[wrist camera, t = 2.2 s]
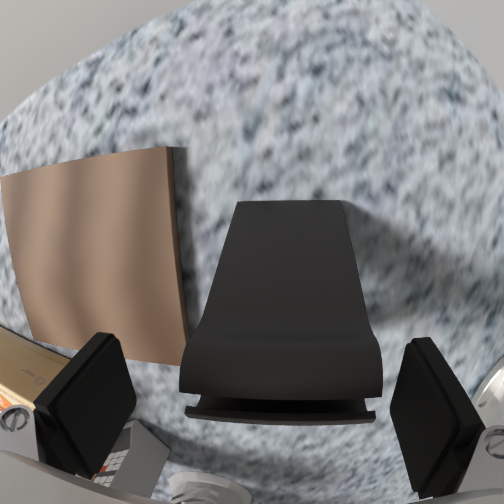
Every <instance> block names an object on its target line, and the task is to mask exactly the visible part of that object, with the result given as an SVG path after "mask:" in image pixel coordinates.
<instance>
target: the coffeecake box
mask: <svg viewBox="0 0 504 504" xmlns="http://www.w3.org/2000/svg"><path fill="white" fill-rule="evenodd" d="M69 361H70V359H68V358H65V357H63V356H61V355H58V354H56V353H54V352H51V351H49V350H47V349H45V348H43V347H40V346H38V345H36V344H34V343H32V342H30V341H27V340H25V339H23V338H21V337H19V336H17V335H16V334H14V333H12V332H10V331H8V330H6V329H4V328H2V327H0V413H1V412H2V411H3V410H4V409H6V408H8V407H10V406H13V405H19V404H21V405H26V406H28V407H30V408H31V410H32V411H33V410H34V409H35V406H34V404H33V401H34V400H35V399H36V398H37V397H38V396H39V394H40V393H41V392H42V391H43V390H44V389H45V388H46V387H47V386H48V384H49V383H50V382H51V381H52V380H53V379H54V378H55V377H56V376H57V374H58V373H59V372H60V371H61V370H62V369H63V368H64V367H65V366H66V365H67V364H68V362H69ZM95 475H96V474H94V476H93V478H92V480H93V479H94V477H95ZM75 476H77V477H80V476H78V475H77V474H76V475H75ZM80 478H83V477H80ZM83 479H85V478H83ZM86 480H88V479H86ZM92 480H88V481H91V482H92Z"/></svg>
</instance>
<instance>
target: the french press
mask: <svg viewBox="0 0 504 504" xmlns="http://www.w3.org/2000/svg"><path fill="white" fill-rule="evenodd" d="M169 484H170V487H171V489H172V491H173V492H174V494H173V496H172V500H171V502H170V503H173V504H181V502H183V503H185V504H250V503H251V494H250V493H249V492H248V491H247V490H246V489H245V488H244V487H243V486H241V485H239V484H237V483H236V482H234V481H232V480H230V479H226V478H223V477H220V476H218V475H215V474H209V473H203V472H197V471H194V472H180V473H177V474H174V475H172V476H171V478H170V480H169Z"/></svg>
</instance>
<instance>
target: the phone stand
mask: <svg viewBox="0 0 504 504" xmlns="http://www.w3.org/2000/svg"><path fill="white" fill-rule="evenodd" d="M382 389H383V367H382V357H381V351H380V347H379V344H378V341H377V339H376V337H375V336H374V334H373V332H372V330H371V327H370V324H369V320H368V316H367V312H366V307H365V302H364V297H363V292H362V287H361V283H360V278H359V274H358V269H357V265H356V261H355V256H354V252H353V248H352V244H351V240H350V236H349V232H348V228H347V224H346V221H345V217H344V213H343V209H342V206H341V202H340V200H291V201H242V202H237V205H236V208H235V211H234V214H233V218H232V221H231V224H230V227H229V230H228V234H227V237H226V240H225V243H224V246H223V250H222V253H221V256H220V260H219V263H218V266H217V269H216V273H215V276H214V279H213V283H212V286H211V289H210V293H209V296H208V299H207V303H206V306H205V310H204V313H203V316H202V318H201V321H200V323H199V325H198V327H197V329H196V330H195V332H194V333H193V334H192V335H191V337H190V338H189V339H188V341H187V343H186V346H185V349H184V352H183V356H182V360H181V366H180V375H179V392H182V393H190V394H199V395H201V397H200V400H199V403H198V405H197V406H196V407H192V406H186V409H185V415H186V416H187V417H189V418H195V419H203V420H211V421H221V422H232V423H245V424H262V425H293V426H316V425H347V424H363V423H373V422H374V421H375V419H376V414H375V411H367V409H366V405H365V399H364V398H376V397H382Z"/></svg>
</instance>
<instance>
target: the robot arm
mask: <svg viewBox="0 0 504 504" xmlns="http://www.w3.org/2000/svg"><path fill="white" fill-rule="evenodd" d="M136 402H137V398H136V394H135V391H134V388H133V385H132V382H131V378H130V375H129V372H128V368H127V365H126V361H125V358H124V354H123V351H122V347H121V343H120V340H119V339H118V338H116V336H115V335H114V334H112V333H105V332H97V333H96V334H95V335H94V336H93V337H92V338H91V339H90V340H89V341H88V342H87V343H86V344H85V345H84V346H83V347H82V348H81V350H80V351H79V352H78V353H77V354H76V355H75V356H74V357H73V358H72V359H71V360H70V361H69V362H68V364H67V365H66V366H65V367H64V368H63V369H62V370H61V371H60V372H59V373H58V374H57V376H56V377H55V378H54V379H53V380H52V381H51V382H50V383H49V384H48V386H47V387H46V388H45V389H44V390H43V391H42V392H41V393H40V394H39V396H38V397H37V398H36V399H35V400H34V401H33V404H34V406H35V409H34V410H33V411H32V410H31V408H30V407H28V406H26V405H21V404H19V405H13V406H10V407H8V408H6V409H4V410H3V411H2V412H1V413H0V504H173V503H168V502H163V501H159V500H154V499H150V498H146V497H142V496H138V495H134V494H130V493H126V492H123V491H119V490H116V489H113V488H110V487H106V486H103V485H100V484H97V483H94V482H91V481H88V480H92V478H93V476H94V474H97V473H99V472H100V470H101V468H102V466H103V464H104V463H105V461H106V459H107V457H108V455H109V453H110V451H111V450H112V448H113V446H114V444H115V442H116V440H117V439H118V437H119V435H120V433H121V431H122V430H123V428H124V426H125V424H126V422H127V421H128V419H129V417H130V415H131V413H132V412H133V410H134V408H135V406H136ZM390 415H391V418H392V421H393V425H394V428H395V431H396V434H397V438H398V441H399V444H400V448H401V451H402V454H403V458H404V462H405V465H406V469H407V472H408V476H409V480H410V483H411V487H412V490H413V491H414V492H418V496H419V499H424V498H428V497H432V496H433V498H432V499H428V500H424V501H419V502H414V503H409V504H504V356H503V357H502V358H501V359H500V360H499V361H498V362H497V364H496V365H495V366H494V367H493V368H492V369H491V370H490V372H489V373H488V374H487V376H486V377H485V378H484V380H483V381H482V383H481V384H480V386H479V388H478V389H477V391H476V393H475V395H474V397H473V399H472V401H470V399H469V397H468V395H467V394H466V392H465V390H464V389H463V387H462V386H461V384H460V382H459V381H458V379H457V377H456V376H455V374H454V373H453V371H452V370H451V368H450V366H449V365H448V363H447V362H446V360H445V359H444V357H443V356H442V354H441V353H440V351H439V350H438V348H437V347H436V345H435V344H434V342H433V341H432V339H431V338H430V337H423V338H413V339H412V341H411V343H408V344H407V345H406V347H405V351H404V356H403V360H402V364H401V368H400V372H399V375H398V379H397V383H396V386H395V390H394V394H393V397H392V400H391V404H390ZM76 474H77V475H78V476H80V477H83V478H85V479H83V478H80V477H77V476H75V475H76ZM86 479H88V480H86Z"/></svg>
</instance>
